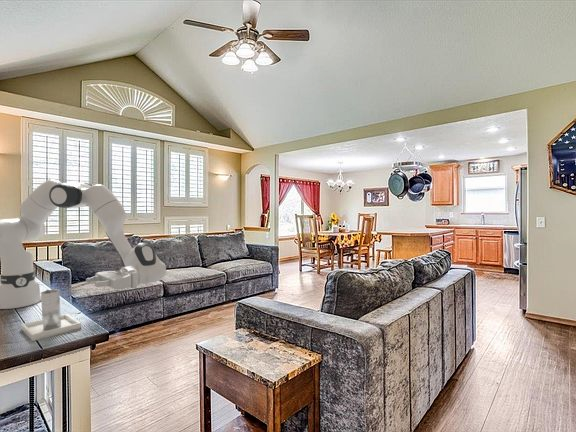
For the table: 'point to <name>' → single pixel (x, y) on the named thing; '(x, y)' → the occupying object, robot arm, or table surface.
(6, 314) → the table surface
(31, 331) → the cream tray
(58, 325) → the metal cup with balls
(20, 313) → the table surface
